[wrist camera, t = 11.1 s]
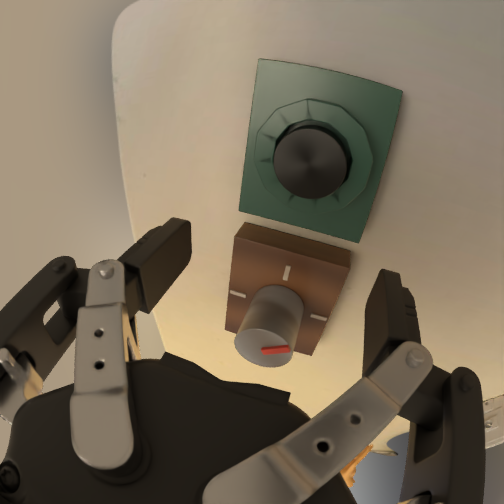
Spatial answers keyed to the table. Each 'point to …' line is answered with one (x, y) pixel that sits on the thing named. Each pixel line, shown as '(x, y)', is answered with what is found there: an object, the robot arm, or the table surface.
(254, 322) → the knob
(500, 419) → the cassette
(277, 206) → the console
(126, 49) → the table surface
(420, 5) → the table surface
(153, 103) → the table surface
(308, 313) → the dial panel
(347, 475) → the figurine
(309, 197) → the button
